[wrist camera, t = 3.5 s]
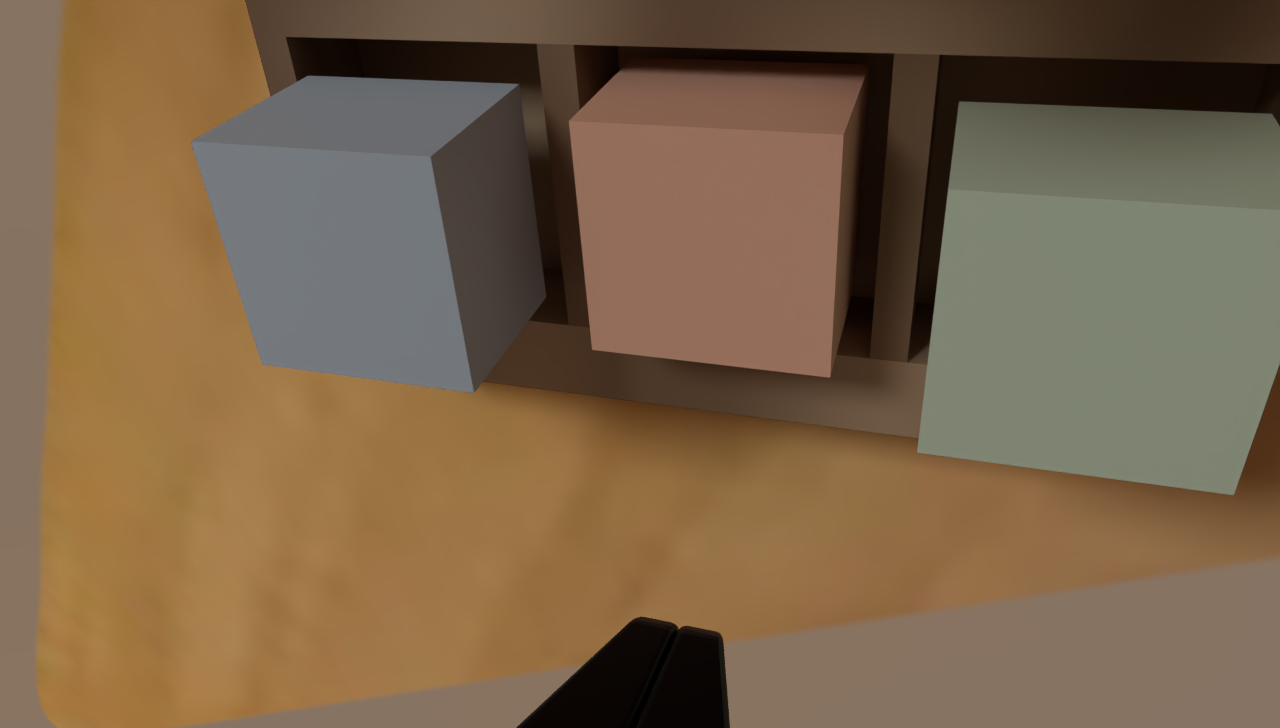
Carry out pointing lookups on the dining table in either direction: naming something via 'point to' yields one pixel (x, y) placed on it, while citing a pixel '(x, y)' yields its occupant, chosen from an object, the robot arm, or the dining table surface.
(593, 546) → the dining table surface
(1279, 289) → the button sage
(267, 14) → the brown wooden compartment tray
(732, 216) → the button terracotta
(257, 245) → the button slate
